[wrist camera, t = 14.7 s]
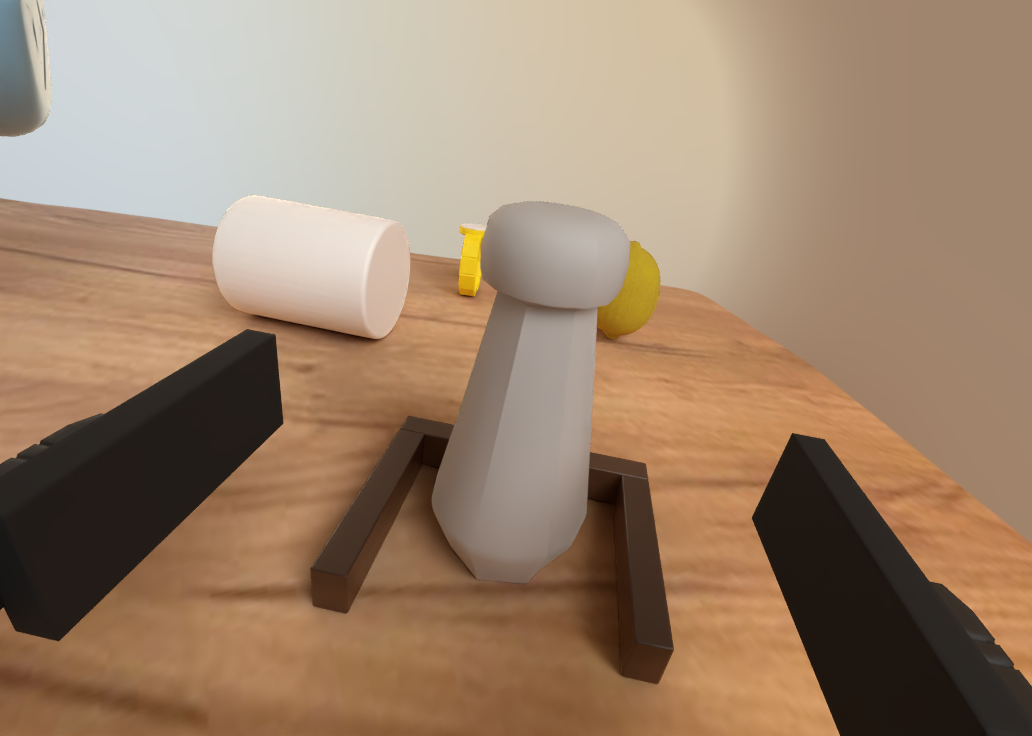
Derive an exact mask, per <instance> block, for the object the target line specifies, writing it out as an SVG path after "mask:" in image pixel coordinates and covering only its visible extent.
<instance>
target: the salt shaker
mask: <svg viewBox="0 0 1032 736" xmlns="http://www.w3.org/2000/svg"><path fill="white" fill-rule="evenodd" d="M629 256H630V241H629V239H628V237H627V236H626V234H625V232H624V230H623V229H622V227H621V226H620V225H619V224H618V223H617V222H615V221H614V220H611V219H610V218H608V217H606V216H605V215H602V214H599V213H597V212H594V211H591V210H587V209H583V208H580V207H575V206H569V205H564V204H558V203H549V202H532V201H531V202H520V203H513V204H508V205H503V206H502V207H500V208H499V209H498V210H496V211H495V212H494V213H493V214H491V215H490V216H489V220H488V223H487V226H486V230H485V233H484V237H483V240H482V244H481V261H480V269H481V273H482V277H483V280H484V281H486V282H487V283H488V284H489V285H490V286H492V287H493V288H494V289H495V290H497V291H498V292H497V295H496V298H495V301H494V304H493V307H492V310H491V314H490V317H489V320H488V323H487V326H486V329H485V332H484V335H483V339H482V342H481V345H480V348H479V351H478V354H477V357H476V360H475V364H474V367H473V370H472V373H471V376H470V379H469V382H468V386H467V389H466V392H465V395H464V398H463V401H462V404H461V407H460V410H459V413H458V416H457V419H456V422H455V425H454V428H453V431H452V434H451V436H450V439H449V442H448V445H447V448H446V451H445V454H444V457H443V460H442V462H441V465H440V468H439V471H438V474H437V477H436V481H435V486H434V490H433V494H432V498H431V501H432V508H433V512H434V514H435V516H436V518H437V520H438V522H439V524H440V526H441V528H442V530H443V532H444V535H445V536H446V538H447V540H448V542H449V544H450V546H451V548H452V549H453V550H454V551H455V553H456V554H457V555H458V556H459V558H460V559H461V560H462V561H463V563H464V564H465V565H466V566H467V568H468V569H469V570H470V571H471V572H472V574H473V575H474V576H475V577H476V579H478V580H489V581H500V582H511V583H522V584H526V583H527V582H528V581H529V580H530V579H531V578H532V577H533V576H534V575H535V574H536V573H537V572H538V571H539V570H540V569H542V568H543V567H544V566H546V565H547V564H549V563H550V562H551V561H553V560H554V559H555V558H557V557H558V556H559V555H561V554H562V553H564V552H565V551H566V550H568V549H569V548H570V547H571V545H572V543H573V541H574V539H575V537H576V535H577V533H578V531H579V529H580V527H581V525H582V523H583V521H584V519H585V517H586V514H587V495H588V477H589V459H590V440H591V422H592V403H593V385H594V367H595V348H596V330H597V311H598V307H599V306H604V305H608V304H609V303H610V302H611V301H613V300H614V299H615V298H616V297H617V295H618V293H619V292H620V290H621V289H622V287H623V284H624V280H625V277H626V274H627V270H628V267H629Z"/></svg>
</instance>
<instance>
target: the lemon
mask: <svg viewBox="0 0 1032 736" xmlns="http://www.w3.org/2000/svg"><path fill="white" fill-rule="evenodd" d="M659 293H660V272H659V268H658V265H657V263H656V261H655V260H654V258H653V257H652V256H651V255H650V253H648V252H647V251H646V250H645V249H643V248H641V246H640V244H639V242H636V241H630V256H629V267H628V270H627V274H626V277H625V280H624V284H623V287H622V289H621V290H620V292H619V293H618V295H617V297H616V298H615V299H614V300H613V301H611V302H610V303H609V304H608V305H604V306H599V307H598V311H597V327H598V328H599V329H601V330H603V331H604V333H605V335H606V336H607V338H609V339H615V338H617V337H619V336H620V335H626V334H630V333H633V332H635V331H637V330H638V329H640V328H641V327H643V326H644V325H645V324H646V322H647V321H648V320H649V318H650V317H651V315H652V314H653V312H654V310H655V307H656V305H657V302H658V298H659Z"/></svg>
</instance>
